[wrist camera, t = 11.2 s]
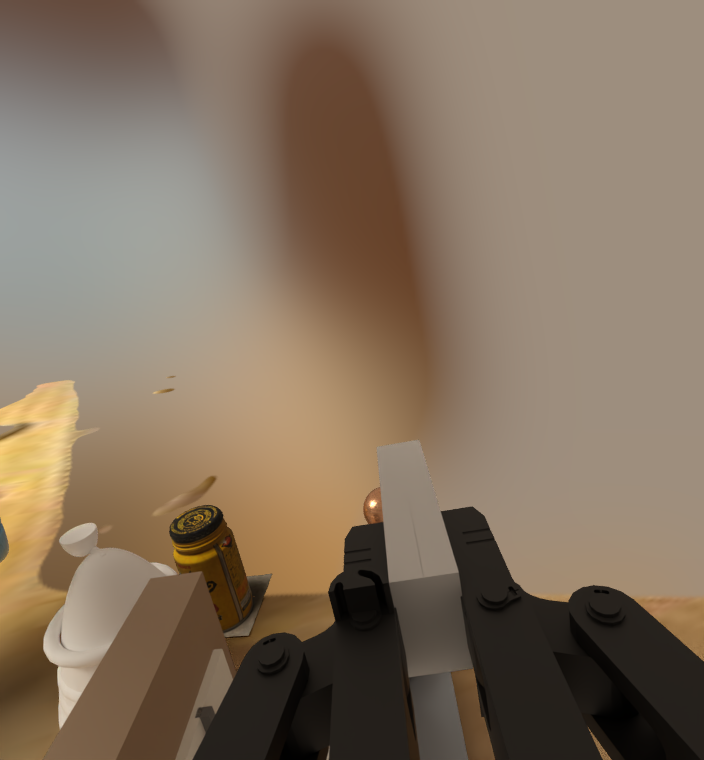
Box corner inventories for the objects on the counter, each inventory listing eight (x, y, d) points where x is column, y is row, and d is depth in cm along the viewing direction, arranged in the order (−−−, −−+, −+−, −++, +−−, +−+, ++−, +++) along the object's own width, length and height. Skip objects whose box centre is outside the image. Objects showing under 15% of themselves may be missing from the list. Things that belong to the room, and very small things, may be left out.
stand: (189, 1058, 22) (28, 783, 16) (267, 677, 41) (206, 483, 35) (523, 1038, 21) (484, 734, 15) (446, 656, 40) (415, 452, 34)
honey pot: (53, 744, 39) (-41, 572, 34) (180, 629, 49) (124, 481, 43) (135, 838, 32) (33, 636, 26) (266, 680, 41) (212, 508, 36)
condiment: (182, 639, 47) (145, 542, 44) (215, 579, 55) (186, 492, 52) (249, 637, 46) (217, 537, 42) (273, 575, 54) (247, 487, 50)
